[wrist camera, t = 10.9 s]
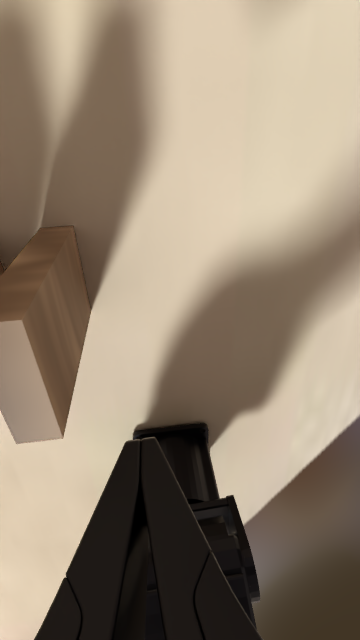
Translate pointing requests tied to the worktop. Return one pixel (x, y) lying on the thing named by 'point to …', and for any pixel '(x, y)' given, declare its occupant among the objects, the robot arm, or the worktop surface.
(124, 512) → the robot arm
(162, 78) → the worktop surface
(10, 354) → the domino
